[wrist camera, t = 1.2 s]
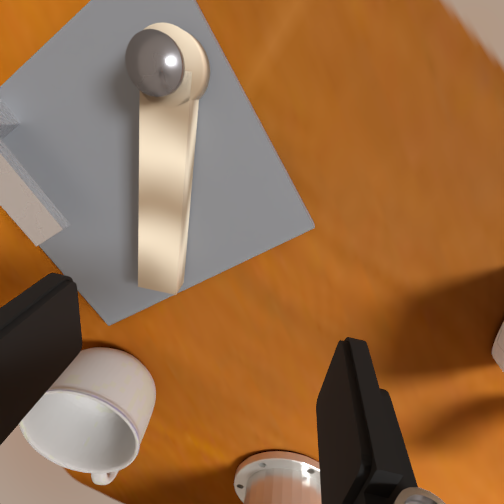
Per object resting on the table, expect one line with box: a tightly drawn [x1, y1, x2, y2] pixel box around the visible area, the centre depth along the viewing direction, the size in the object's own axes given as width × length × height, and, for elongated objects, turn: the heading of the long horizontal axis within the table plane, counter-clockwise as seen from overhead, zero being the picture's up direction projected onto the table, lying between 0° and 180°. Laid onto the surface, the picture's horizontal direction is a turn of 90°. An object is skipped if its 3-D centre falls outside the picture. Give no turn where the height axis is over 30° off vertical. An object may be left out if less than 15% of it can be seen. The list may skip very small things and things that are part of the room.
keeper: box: [0, 98, 70, 247], centre depth 24 cm, size 10×3×5 cm, turn 31°
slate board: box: [0, 0, 315, 326], centre depth 25 cm, size 20×22×1 cm
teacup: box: [19, 347, 156, 485], centre depth 33 cm, size 14×11×8 cm
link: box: [125, 23, 210, 295], centre depth 22 cm, size 18×4×4 cm, turn 171°
